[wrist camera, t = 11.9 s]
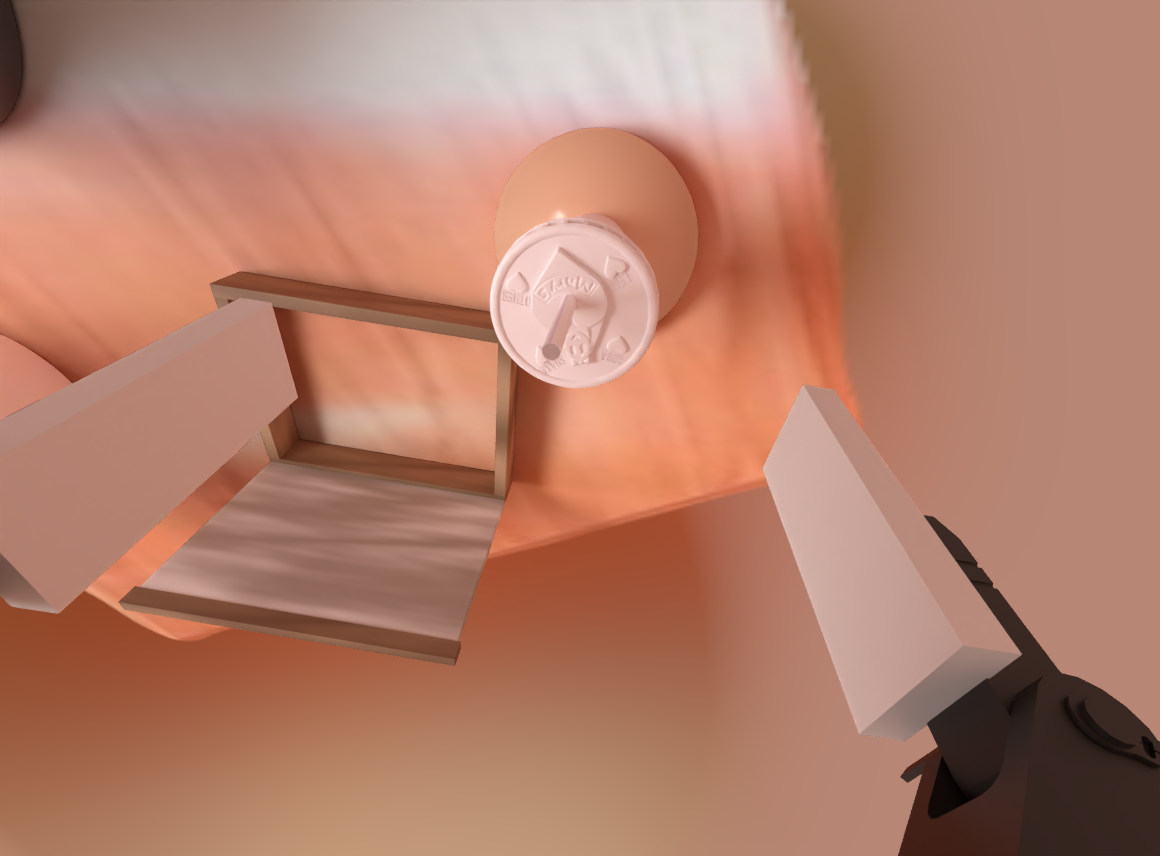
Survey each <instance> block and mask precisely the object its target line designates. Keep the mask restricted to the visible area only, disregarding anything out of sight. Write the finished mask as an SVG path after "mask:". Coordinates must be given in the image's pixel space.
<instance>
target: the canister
mask: <svg viewBox="0 0 1160 856" xmlns="http://www.w3.org/2000/svg"><path fill="white" fill-rule="evenodd" d="M70 384H72V383H71V382H70V381H69V380H68V379H67V378H66V377H65V376H64V375H63V374H62V373H60V372H59V371H58V370H57V369H56V368H54V367H53V366H52V365H51V364H49V363H48V362H47V361H45V360H44V359H43V358H41V357H40V356H38V355H37V354H35V353H34V352H32V351H31V350H29V349H28V348H26V347H24V346H23V345H21V344H19V343H17V342H16V341H14V340H12V339H10V338H8V337H6V336H4V335H2V334H0V420H2V419H4V418H6V417H7V416H9V415H11V414H13V413H14V412H16V411H18V410H20V409H22V408H24V407H26V406H28V405H30V404H32V403H34V402H36V401H38V400H41V399H43V398H45V397H47V396H49V395H51V394H53V393H55V392H57V391H59V390H61V389H63V388H65V387H66V386H68V385H70Z"/></svg>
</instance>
